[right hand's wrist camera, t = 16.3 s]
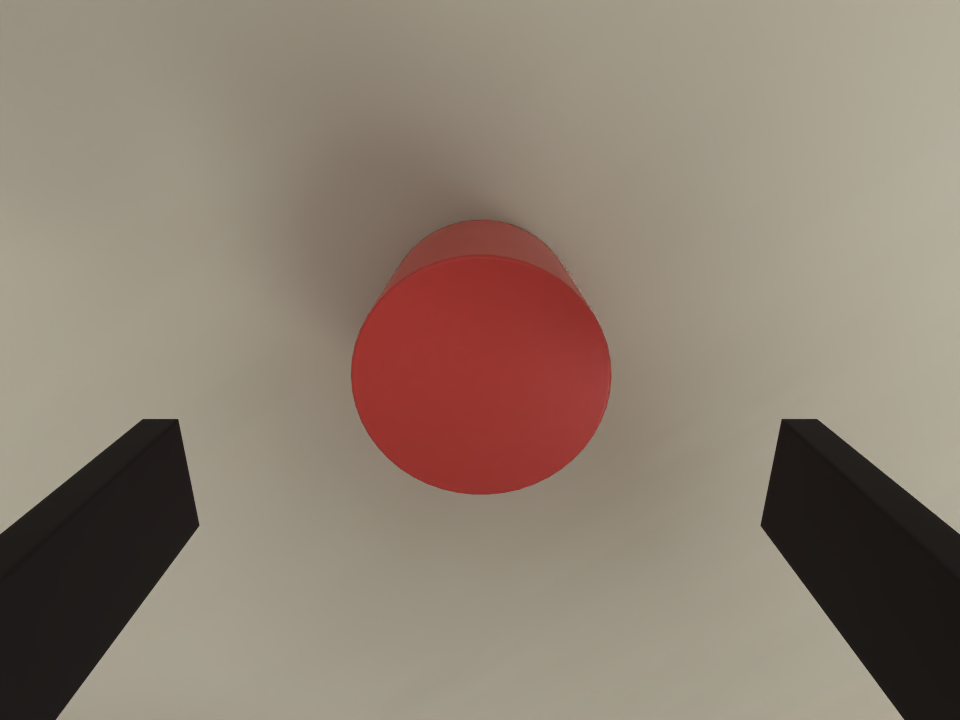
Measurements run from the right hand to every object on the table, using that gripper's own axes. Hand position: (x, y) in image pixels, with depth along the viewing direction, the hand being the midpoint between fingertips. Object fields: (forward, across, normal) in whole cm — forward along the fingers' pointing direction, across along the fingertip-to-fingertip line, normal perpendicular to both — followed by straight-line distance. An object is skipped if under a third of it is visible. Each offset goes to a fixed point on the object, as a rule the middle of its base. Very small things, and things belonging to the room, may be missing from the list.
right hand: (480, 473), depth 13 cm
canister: (+11, 0, 0) cm, 11 cm away
